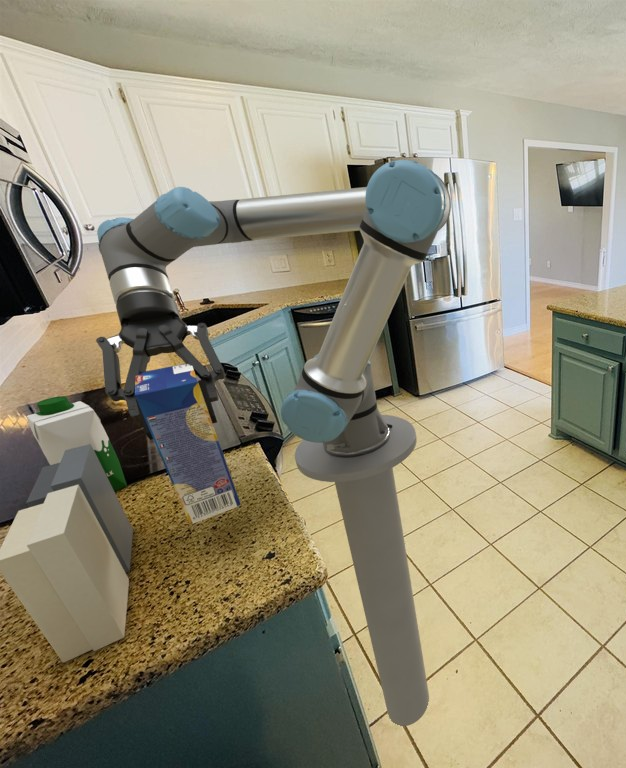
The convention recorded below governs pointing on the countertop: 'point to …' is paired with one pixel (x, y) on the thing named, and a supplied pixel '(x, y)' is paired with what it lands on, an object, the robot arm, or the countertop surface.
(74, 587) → the cream books
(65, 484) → the grey books
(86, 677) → the countertop surface
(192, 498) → the beverage box
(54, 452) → the milk carton
